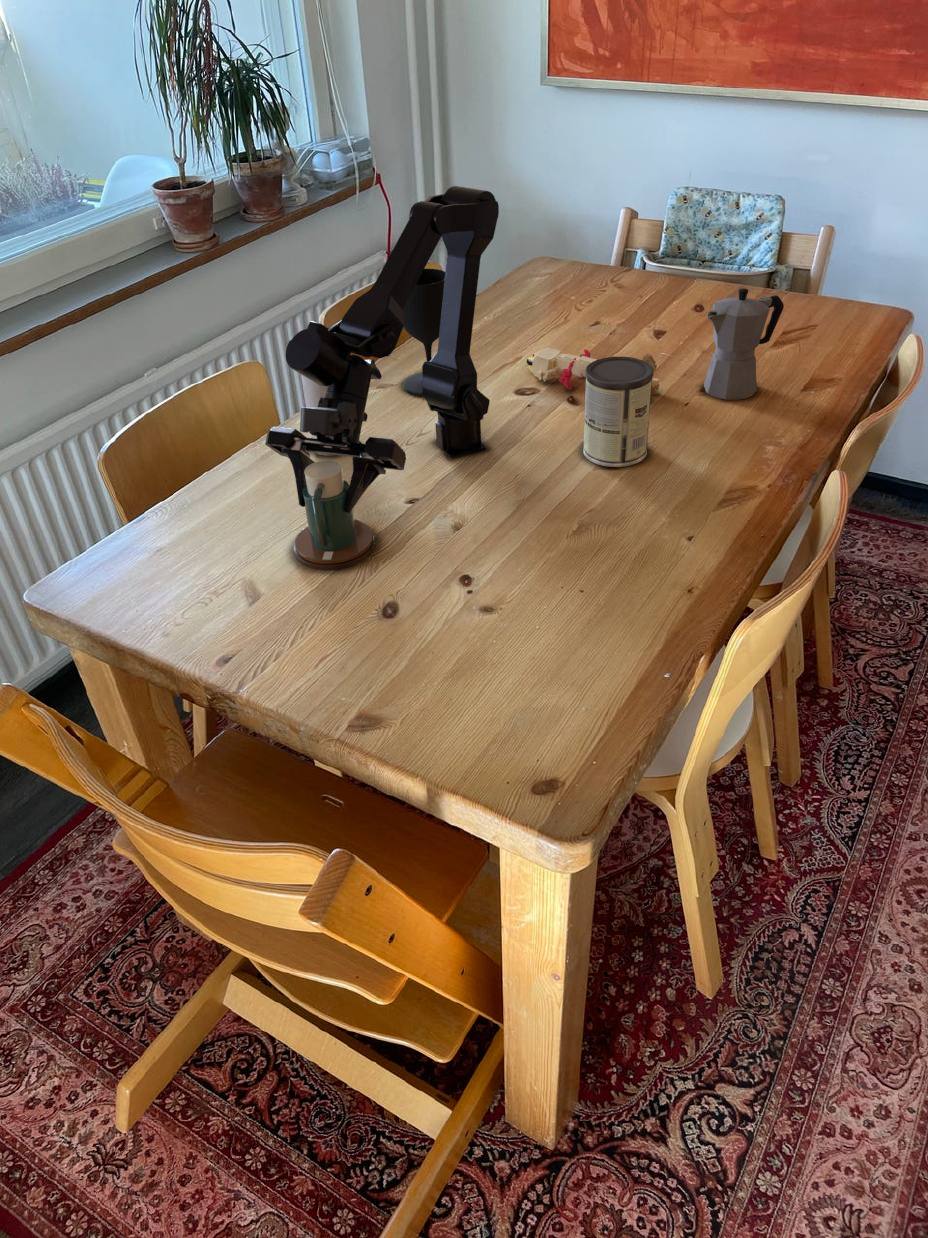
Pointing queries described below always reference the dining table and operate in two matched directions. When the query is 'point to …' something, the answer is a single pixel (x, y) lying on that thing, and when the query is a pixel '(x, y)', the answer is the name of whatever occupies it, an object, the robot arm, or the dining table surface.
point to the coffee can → (617, 411)
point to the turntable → (336, 565)
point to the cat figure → (570, 366)
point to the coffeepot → (738, 343)
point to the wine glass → (424, 317)
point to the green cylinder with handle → (330, 518)
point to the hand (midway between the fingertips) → (324, 509)
